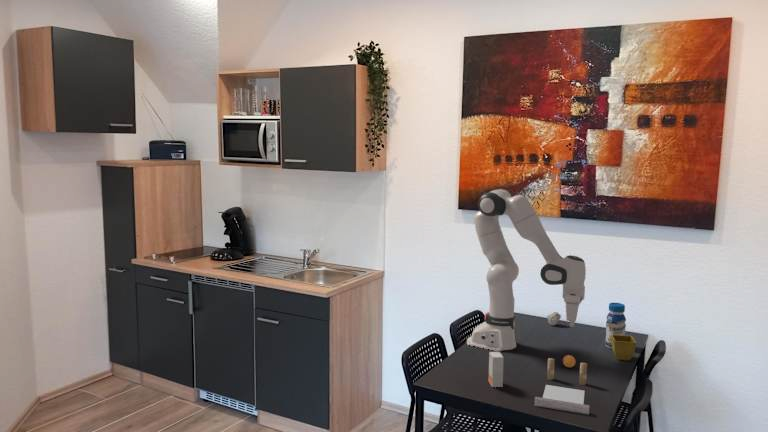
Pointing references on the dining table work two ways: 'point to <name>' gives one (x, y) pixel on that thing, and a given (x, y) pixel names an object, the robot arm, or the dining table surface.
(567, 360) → the ball
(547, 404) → the wall
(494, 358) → the skincare box
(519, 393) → the dining table surface
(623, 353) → the flower pot
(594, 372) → the dining table surface
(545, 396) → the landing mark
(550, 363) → the left post
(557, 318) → the frog figurine
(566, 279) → the robot arm
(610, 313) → the beverage bottle
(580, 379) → the right post
